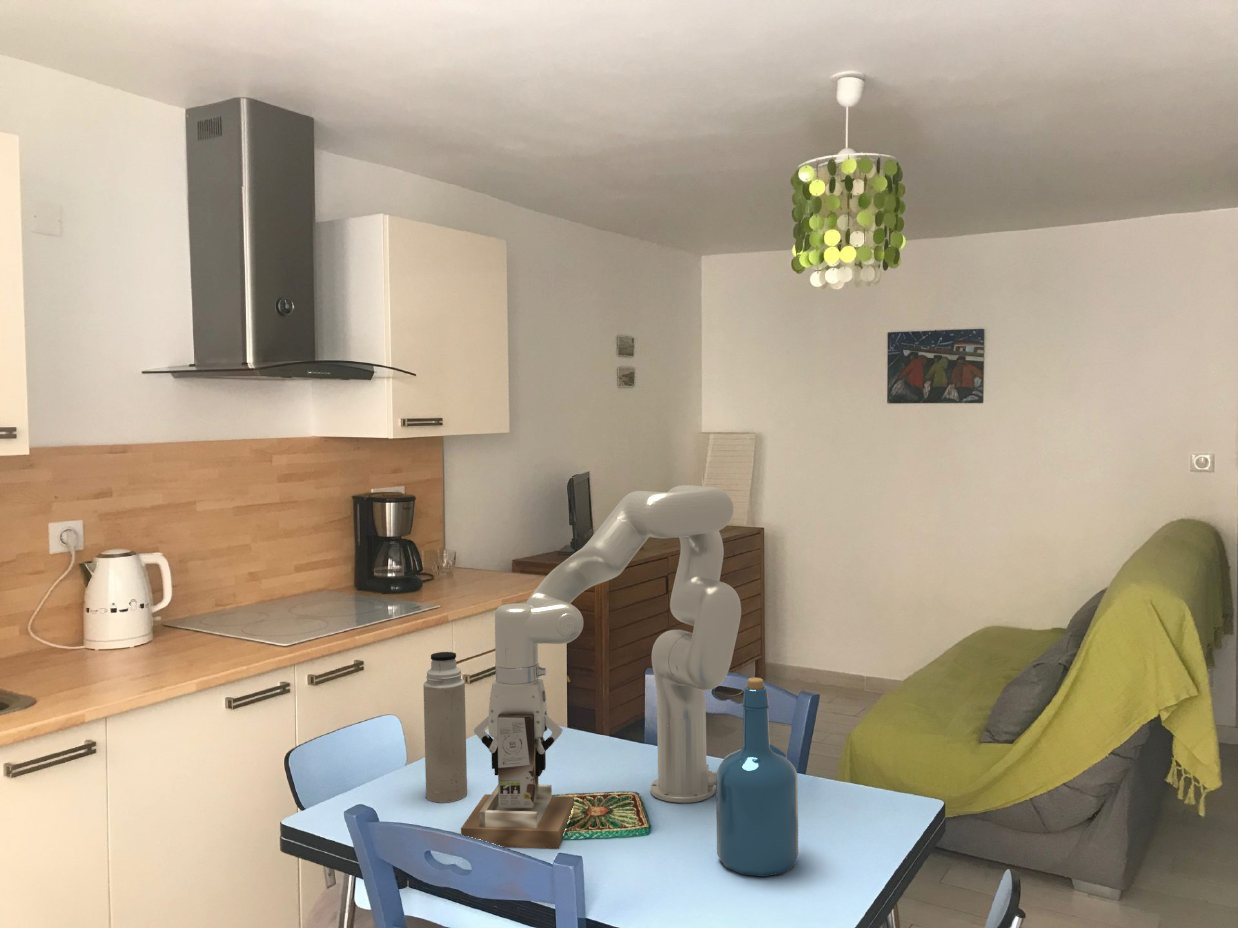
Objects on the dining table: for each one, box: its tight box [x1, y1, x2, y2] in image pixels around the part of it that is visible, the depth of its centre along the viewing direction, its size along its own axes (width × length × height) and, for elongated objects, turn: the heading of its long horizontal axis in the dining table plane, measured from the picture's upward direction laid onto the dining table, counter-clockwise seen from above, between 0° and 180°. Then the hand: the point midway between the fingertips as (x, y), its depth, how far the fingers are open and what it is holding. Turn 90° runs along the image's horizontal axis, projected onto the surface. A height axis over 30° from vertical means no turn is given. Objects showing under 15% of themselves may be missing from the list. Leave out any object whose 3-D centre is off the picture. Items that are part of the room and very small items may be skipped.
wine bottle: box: [715, 677, 799, 877], centre depth 160 cm, size 14×13×30 cm
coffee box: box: [497, 713, 539, 808], centre depth 175 cm, size 9×6×16 cm
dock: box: [460, 783, 575, 850], centre depth 175 cm, size 17×16×6 cm
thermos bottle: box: [422, 651, 468, 804], centre depth 192 cm, size 8×8×28 cm
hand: (518, 772), depth 175 cm, fingers closed on coffee box, 6 cm apart
